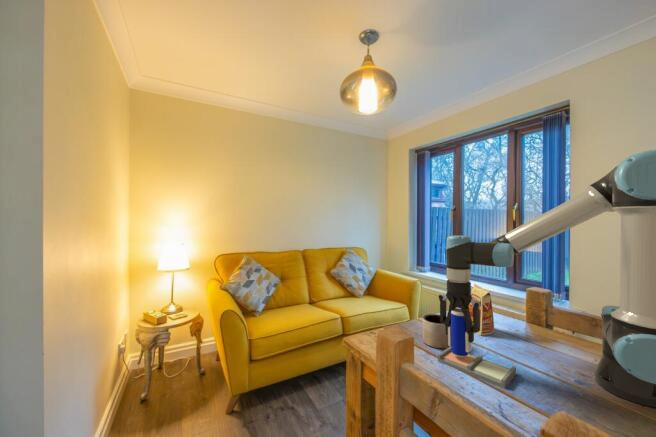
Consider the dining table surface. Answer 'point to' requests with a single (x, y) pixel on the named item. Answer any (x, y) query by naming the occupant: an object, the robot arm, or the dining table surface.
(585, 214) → the robot arm
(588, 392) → the dining table surface
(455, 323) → the beverage can
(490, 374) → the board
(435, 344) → the planter
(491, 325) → the milk carton
